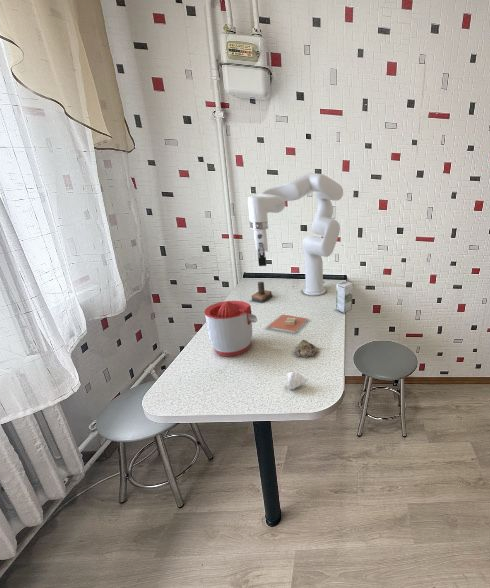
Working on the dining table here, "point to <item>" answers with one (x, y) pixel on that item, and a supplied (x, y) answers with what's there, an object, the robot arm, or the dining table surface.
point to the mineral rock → (306, 349)
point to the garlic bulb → (295, 380)
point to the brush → (261, 293)
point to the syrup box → (344, 296)
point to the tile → (281, 325)
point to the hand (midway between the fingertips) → (262, 262)
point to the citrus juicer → (230, 327)
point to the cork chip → (290, 321)
